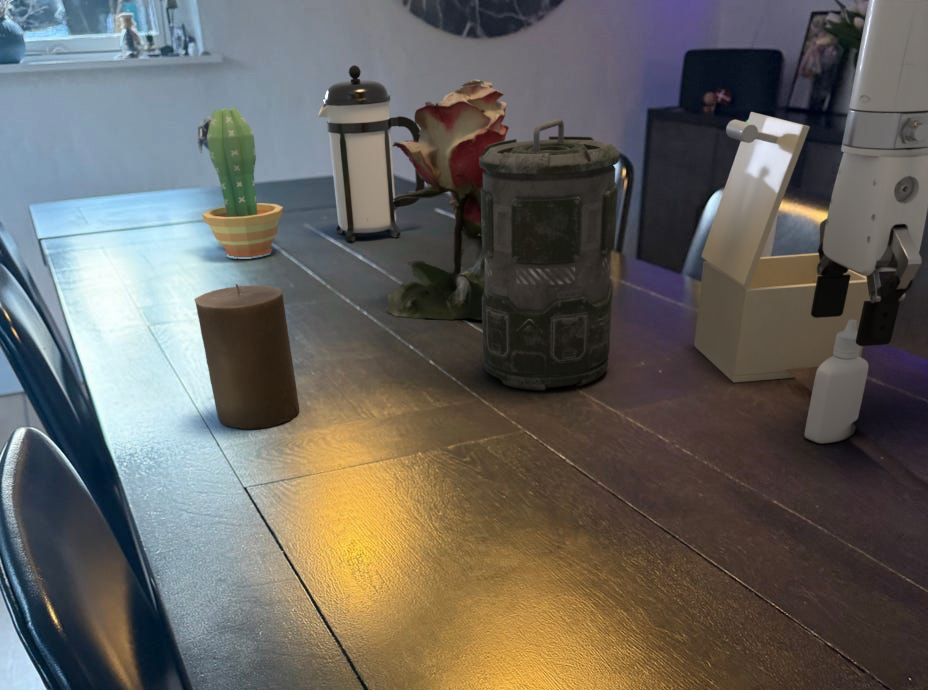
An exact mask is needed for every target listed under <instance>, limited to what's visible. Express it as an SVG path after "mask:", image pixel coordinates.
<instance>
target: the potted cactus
mask: <svg viewBox="0 0 928 690" xmlns="http://www.w3.org/2000/svg"><path fill="white" fill-rule="evenodd" d="M195 137H196V138H195V139H196V142H197V146H198V149H199V153H200V154H202V153H203V147H204V149H205V150H207V151H209V152H208V153H209V156H210V160H211V163H212V165H213V167H214V169H215V171H216V174H217V176H218V179H219V185H220V189H221V192H222V197H223V200H224V205H222V206H219V207H214V208H210V209H207V210H205V211H204V212H203V213H202V214H201V217H202V219H203V221H204V223H205V224H207V225H208V226H209V228H210V230H211V232H212V234H213V237H214V238H215V240H216V241H217V242H218V243H219V244H220V246H222V247H223V249H224V250H225V251H226V252H225V253H226V254H228V255H229V256H234V257H253V256H258V255H264V254H267V253H270V252H271V251H272V252H273V249H272V244H273V243H274V240H275V238H276V236H277V234H278V229H279V222H280V219H281V218H282V217H283V214H284V212H283V211H284V207H283V206H281V205H279V204H277V203H263V202H257V194H256V183H255V168H256V167H255V166H256V160H257V155H256V146H255V145H256V144H255V135H254V131H253V130H252V129H251V127H250V125H249V123H248V122H247V120H246V119H245V118H244V117H243V115H242V114H241V112H240V111H239V110H238V109H237V107H233V108H231V109H228V108H226V107H223V108H222V109H220V110H219V109H217V108H215V109H214V110H213V112H212V115H211V116H210V115H207V116H205V117H204V118H202V120H201V121H200V122H199V124H198V126H197V130H196V136H195ZM226 254H225V255H226Z"/></svg>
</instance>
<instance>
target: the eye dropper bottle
mask: <svg viewBox="0 0 928 690" xmlns="http://www.w3.org/2000/svg"><path fill="white" fill-rule="evenodd" d="M856 337H857V330H856V320H853V319H851V320H849V321H848V323H847V326H846V328H845V330H844V331H842V332H839V333H837V335H836V340H835V345H834V350H833V354H834V355H833V356H831V357H830V358H828V359H827V360H826V361H824V362H823V363H822V364H821V365H820V366H819V367H817V369H816V372H815V377H814V381H813V387H812V391H811V397H810V402H809V405H808V411H807V412H808V413H807V417H806V421H805V422H806V423H805V428H804V434H803V436H804V438H805V439H807V440H809V441H811V442H814V443H815V444H824V445H825V444H832V443H838V442H841V441H844V440H846V439H848V438H850V437H851V436H853V435H854V434H855V432H856V429H857V425H855V424H854V422H856V421H857V420H858V419H859V415H860V410H861V406H862V403H863V402H862V401H863V397H864V393H865V388H866V384H867V378H868V373H869V362H868V361H867V360H866V359H865V358H863V357H862V356H861V357H858V355H859V351H860V346H859V345H858V344H856Z"/></svg>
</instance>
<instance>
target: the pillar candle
mask: <svg viewBox="0 0 928 690" xmlns="http://www.w3.org/2000/svg"><path fill="white" fill-rule="evenodd" d="M194 303H195V306H196V307H195V308H196V313H197V318H198V323H199V327H200V334H201V339H202V342H203V343H202V344H203V348H204V354H205V359H206V360H205V361H206V365H207V369H208V376H209V380H210V381H209V382H210V385H211V389H212V390H211V391H212V395H213V400H214V406H215V411H216V416H217V418H218V421H219V422H220V424H222V425H224V426H226V427H230V428H238V429H245V430H253V429H254V430H256V429H265V428H268V427H269V428H270V427H273V426H277V425H280V424H283V423H287V422H289V421H291V420H293V419H294V418H295V417H296V416H297V415H298V414H299V413H300V404H299V397H298V388H297V384H296V383H297V382H296V376H295V369H294V362H293V356H292V355H293V354H292V349H291V343H290V336H289V329H288V322H287V316H286V309H285V302H284V295H283V291H282V290H281V289H280V288H278V287H277V286H271V285H263V284H260V285H259V284H249V285H239V284H238V283H235V286H230V287H225V288H224V287H223V288H219V289H214V290H211V291H209V292H205V293H203V294H201V295H199V296H197V297H195V298H194Z"/></svg>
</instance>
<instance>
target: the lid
mask: <svg viewBox="0 0 928 690" xmlns="http://www.w3.org/2000/svg"><path fill="white" fill-rule="evenodd" d="M747 120H748V122H747V123H746V121H742V120H739V119H732V120H730V121H729V122H728V124H727V125H726V128H725V133H726V135H727V136H728V137H729V138H731V139H734V140H737V141H740V143H739V146H738V148H737V151H736V154H735V156H734V160H733V163H732V166H731V168H730V172H729V174H728V178H727V180H726V183H725V186H724V189H723V192H722V195H721V198H720V201H719V204H718V206H717V209H716V212H715V215H714V218H713V221H712V224H711V227H710V230H709V232H708V236H707V239H706V242H705V245H704V247H703V250H702V253H701V256H700V257H701V258H702V259H704V261H708V262H709V263H711V264H712V265H714V266H715V267H717V268H718V269H720V270H721V271H723V272H724V273H726V274H727V275H729V276H730V277H732V278H733V279H735V280H736V281H738V282H739V283H741V284H742V285H744V286H748V287H749V286H750V284H751V281H752V279H753V276H754V273H755V271H756V268H757V265H758V263H759V260H760V257H761V255H762V252H763V249H764V247H765V244H766V241H767V239H768V236H769V234H770V231H771V228H772V226H773V223H774V220H775V218H776V215H777V212H778V213H779V210H780V207H781V205H782V201H783V199H784V196H785V193H786V191H787V189H788V186H789V183H790V181H791V179H792V176H793V172H794V169H795V167H796V165H797V162H798V159H799V156H800V154H801V151H802V149H803V146H804V144H805V141H806V138H807V135H808V133H809V130H810V128H811V127H810V126H809V125H805V124H802V123H797V122H793V121H789V120H785V119H781V118H778V117H773V116H770V115H765V114H761V113H757V112H754V111H751V112H750V113H749V117H748V119H747Z"/></svg>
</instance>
